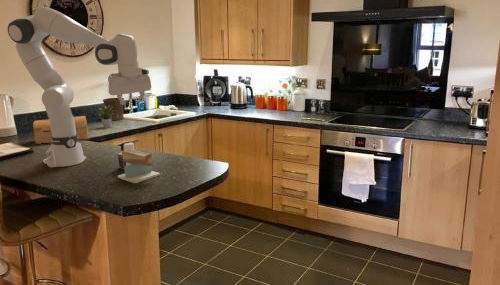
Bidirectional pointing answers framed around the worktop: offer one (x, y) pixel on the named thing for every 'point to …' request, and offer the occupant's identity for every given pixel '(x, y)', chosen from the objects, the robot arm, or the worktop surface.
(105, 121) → the house plant
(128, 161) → the batten
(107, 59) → the robot arm
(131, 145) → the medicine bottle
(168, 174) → the worktop surface
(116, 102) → the plant pot
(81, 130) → the wooden box
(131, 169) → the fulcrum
